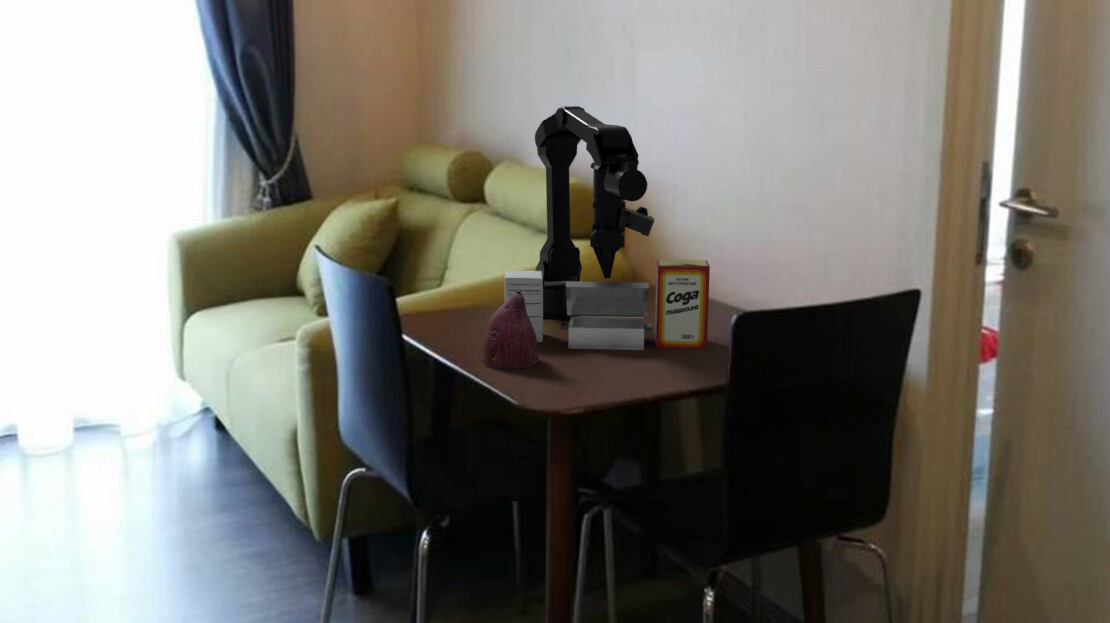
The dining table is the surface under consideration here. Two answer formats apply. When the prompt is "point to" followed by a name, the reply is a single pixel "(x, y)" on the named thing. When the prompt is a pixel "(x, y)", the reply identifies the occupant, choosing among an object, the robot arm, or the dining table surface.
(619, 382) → the dining table surface
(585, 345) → the white rectangular box
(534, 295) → the supplement box
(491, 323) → the vegetable
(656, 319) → the baking soda box
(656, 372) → the dining table surface
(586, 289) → the lid
